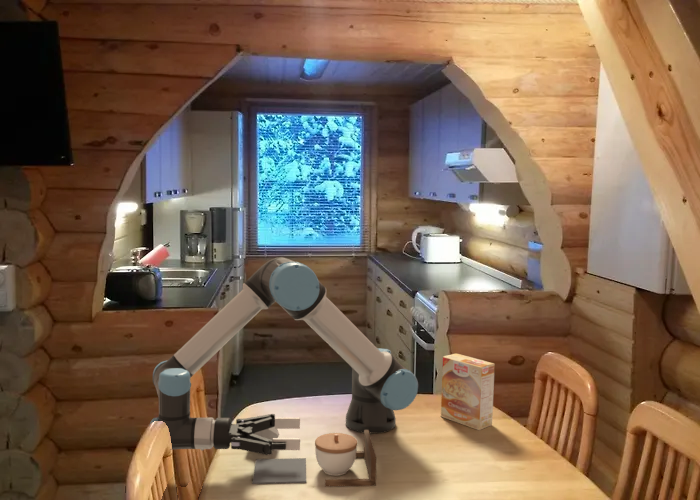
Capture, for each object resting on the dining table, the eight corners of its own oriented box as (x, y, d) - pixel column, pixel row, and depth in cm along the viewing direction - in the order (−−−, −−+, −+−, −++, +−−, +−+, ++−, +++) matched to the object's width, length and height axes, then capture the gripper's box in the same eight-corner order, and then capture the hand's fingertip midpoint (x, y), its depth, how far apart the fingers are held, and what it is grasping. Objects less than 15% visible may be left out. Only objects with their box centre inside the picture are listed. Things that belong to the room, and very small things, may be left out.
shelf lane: (367, 455, 171) (368, 429, 170) (375, 485, 153) (376, 457, 153) (322, 455, 170) (322, 430, 169) (325, 486, 152) (325, 458, 152)
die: (265, 459, 168) (285, 427, 170) (238, 441, 169) (258, 410, 171) (268, 457, 176) (287, 427, 178) (242, 440, 177) (262, 410, 179)
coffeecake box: (439, 416, 200) (441, 356, 198) (454, 411, 205) (456, 352, 203) (478, 431, 189) (481, 367, 187) (493, 425, 194) (495, 362, 192)
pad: (305, 459, 167) (305, 458, 167) (306, 482, 154) (306, 481, 154) (256, 460, 166) (256, 459, 166) (252, 483, 153) (252, 482, 153)
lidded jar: (336, 457, 169) (337, 423, 168) (365, 470, 161) (366, 435, 160) (305, 469, 161) (306, 434, 160) (334, 484, 154) (335, 447, 153)
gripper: (220, 428, 170) (299, 428, 172) (206, 470, 146) (299, 469, 147) (220, 401, 170) (300, 401, 171) (207, 438, 145) (300, 438, 147)
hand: (300, 433), depth 159 cm, fingers open, 13 cm apart
